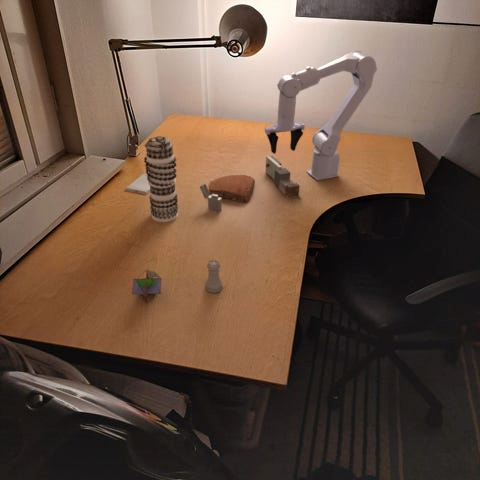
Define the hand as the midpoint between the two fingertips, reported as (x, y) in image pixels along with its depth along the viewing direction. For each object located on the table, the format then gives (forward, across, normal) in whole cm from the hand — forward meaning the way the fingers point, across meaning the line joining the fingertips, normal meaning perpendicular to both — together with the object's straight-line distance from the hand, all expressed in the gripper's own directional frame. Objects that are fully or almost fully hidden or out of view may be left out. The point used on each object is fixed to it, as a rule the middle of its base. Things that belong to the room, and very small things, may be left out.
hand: (283, 151), depth 160 cm
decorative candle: (+11, +47, +11) cm, 49 cm away
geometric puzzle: (+11, +61, +47) cm, 78 cm away
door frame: (+10, +3, +3) cm, 11 cm away
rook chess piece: (+11, +45, +50) cm, 68 cm away
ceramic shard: (+11, +21, +3) cm, 24 cm away
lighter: (+11, +32, +12) cm, 36 cm away
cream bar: (+10, +3, -1) cm, 11 cm away
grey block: (+10, +3, +6) cm, 12 cm away
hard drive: (+11, +48, -12) cm, 51 cm away
